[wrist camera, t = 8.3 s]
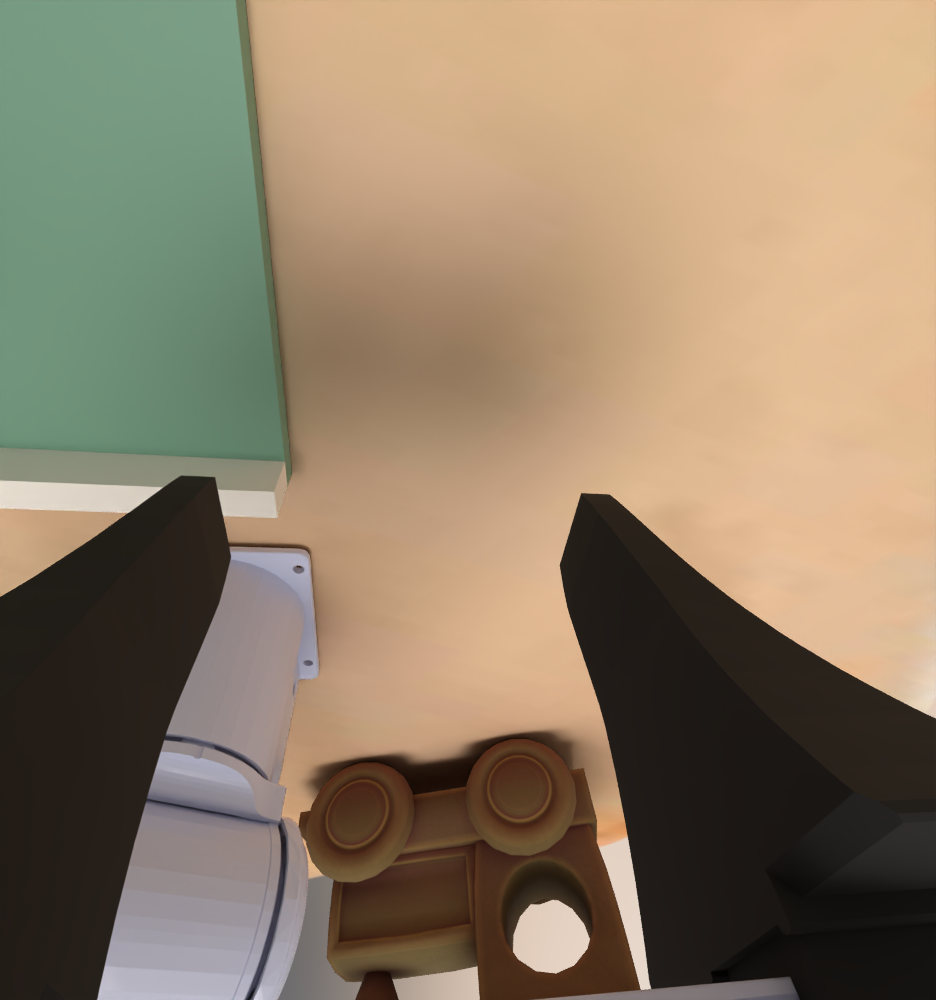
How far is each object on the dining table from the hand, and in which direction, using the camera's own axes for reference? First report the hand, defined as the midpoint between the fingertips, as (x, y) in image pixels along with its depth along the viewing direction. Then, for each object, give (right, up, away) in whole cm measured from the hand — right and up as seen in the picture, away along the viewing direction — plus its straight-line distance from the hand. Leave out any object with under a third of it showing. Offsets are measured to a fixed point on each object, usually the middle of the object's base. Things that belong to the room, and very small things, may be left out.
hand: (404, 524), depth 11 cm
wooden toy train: (0, -20, +29) cm, 35 cm away
